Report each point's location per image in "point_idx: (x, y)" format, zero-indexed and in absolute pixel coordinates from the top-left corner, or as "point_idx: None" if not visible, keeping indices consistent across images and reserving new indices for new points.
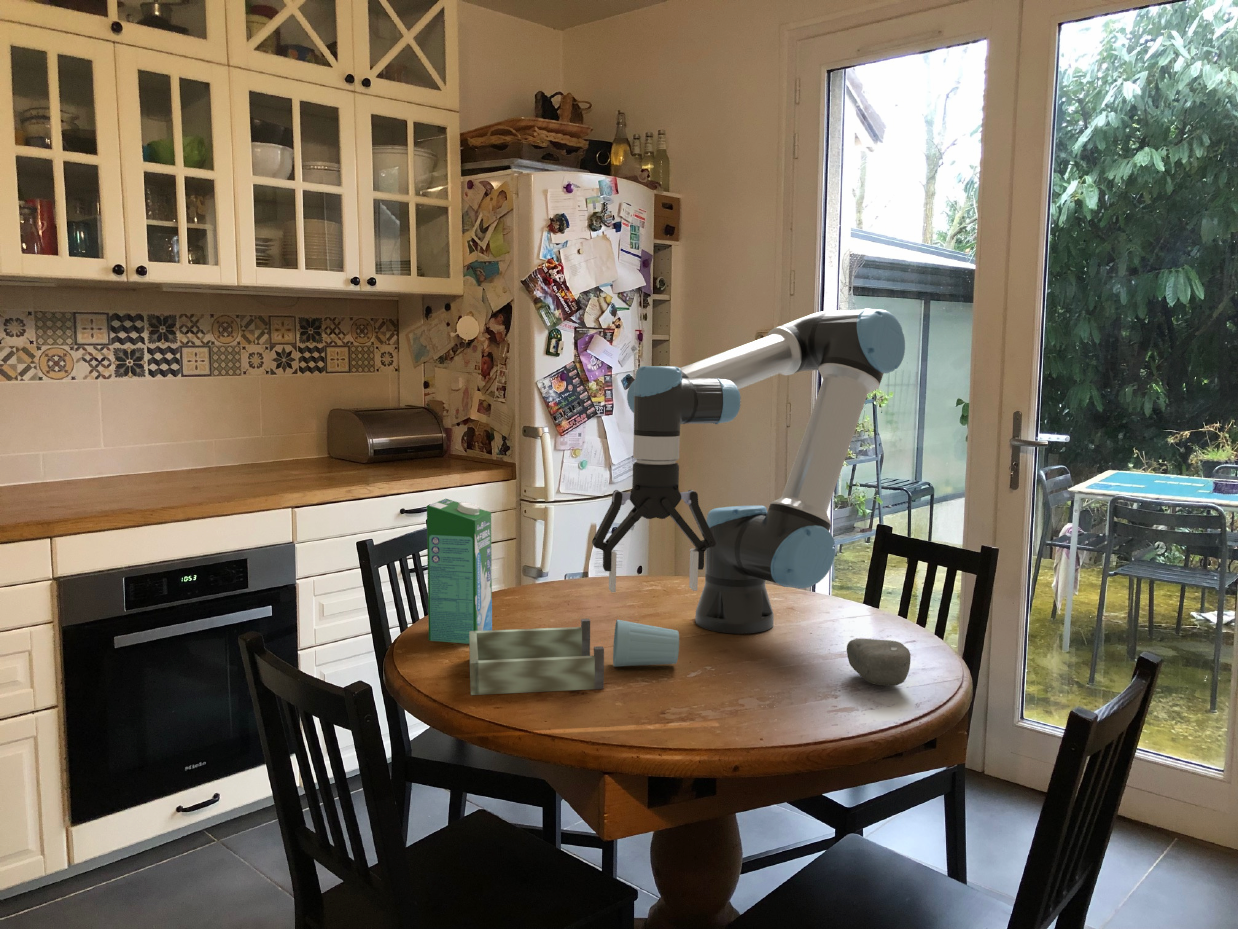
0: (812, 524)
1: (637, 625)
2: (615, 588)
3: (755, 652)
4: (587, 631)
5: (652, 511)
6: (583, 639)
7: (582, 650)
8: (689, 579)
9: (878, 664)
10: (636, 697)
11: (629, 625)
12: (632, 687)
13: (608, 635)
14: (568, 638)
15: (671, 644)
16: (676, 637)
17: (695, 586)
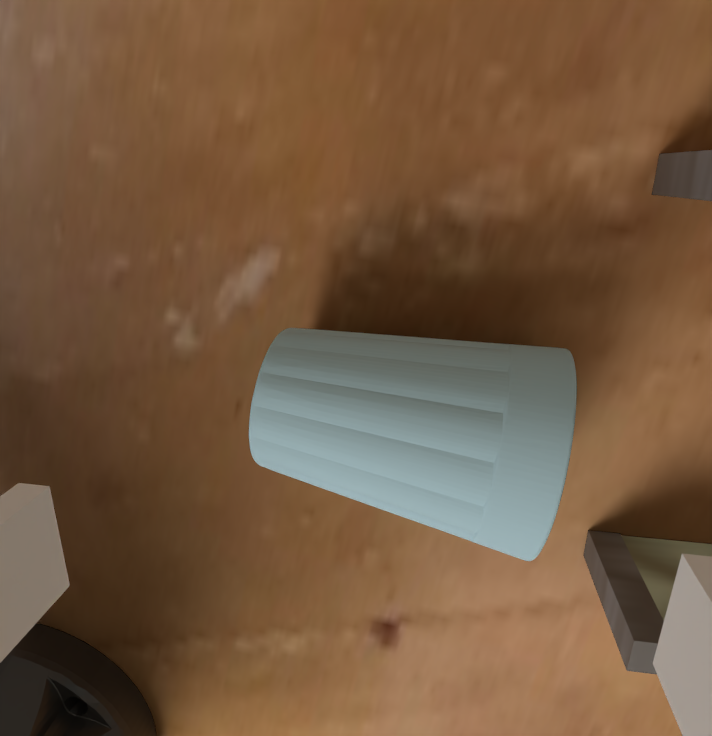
0: None
1: (449, 462)
2: (699, 578)
3: (8, 453)
4: (631, 603)
5: None
6: (637, 580)
7: (626, 550)
8: (30, 626)
9: None
10: (549, 18)
11: (497, 458)
12: (528, 157)
13: (454, 711)
14: None
15: (303, 349)
16: (270, 374)
17: (8, 502)
